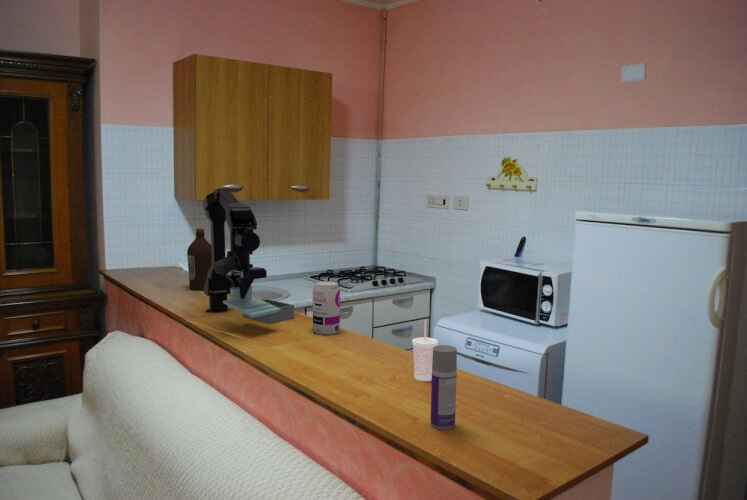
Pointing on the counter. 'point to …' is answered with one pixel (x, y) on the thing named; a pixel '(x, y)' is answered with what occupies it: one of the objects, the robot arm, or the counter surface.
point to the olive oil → (199, 261)
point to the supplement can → (326, 307)
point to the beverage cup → (423, 356)
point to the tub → (276, 313)
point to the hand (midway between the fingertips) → (240, 298)
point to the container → (443, 387)
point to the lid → (249, 304)
